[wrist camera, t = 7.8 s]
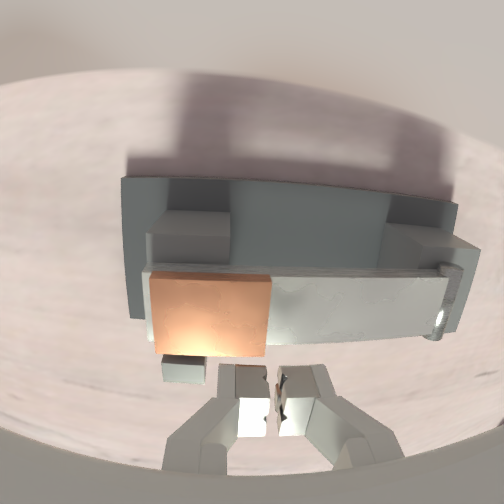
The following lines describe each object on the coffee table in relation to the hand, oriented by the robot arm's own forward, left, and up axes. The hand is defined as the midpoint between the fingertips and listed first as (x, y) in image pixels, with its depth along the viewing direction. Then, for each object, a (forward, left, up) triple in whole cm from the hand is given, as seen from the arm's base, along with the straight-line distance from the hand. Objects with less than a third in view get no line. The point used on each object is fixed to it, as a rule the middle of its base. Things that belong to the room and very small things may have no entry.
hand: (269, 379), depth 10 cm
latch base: (-4, 0, -13) cm, 13 cm away
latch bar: (-3, 0, -6) cm, 7 cm away
